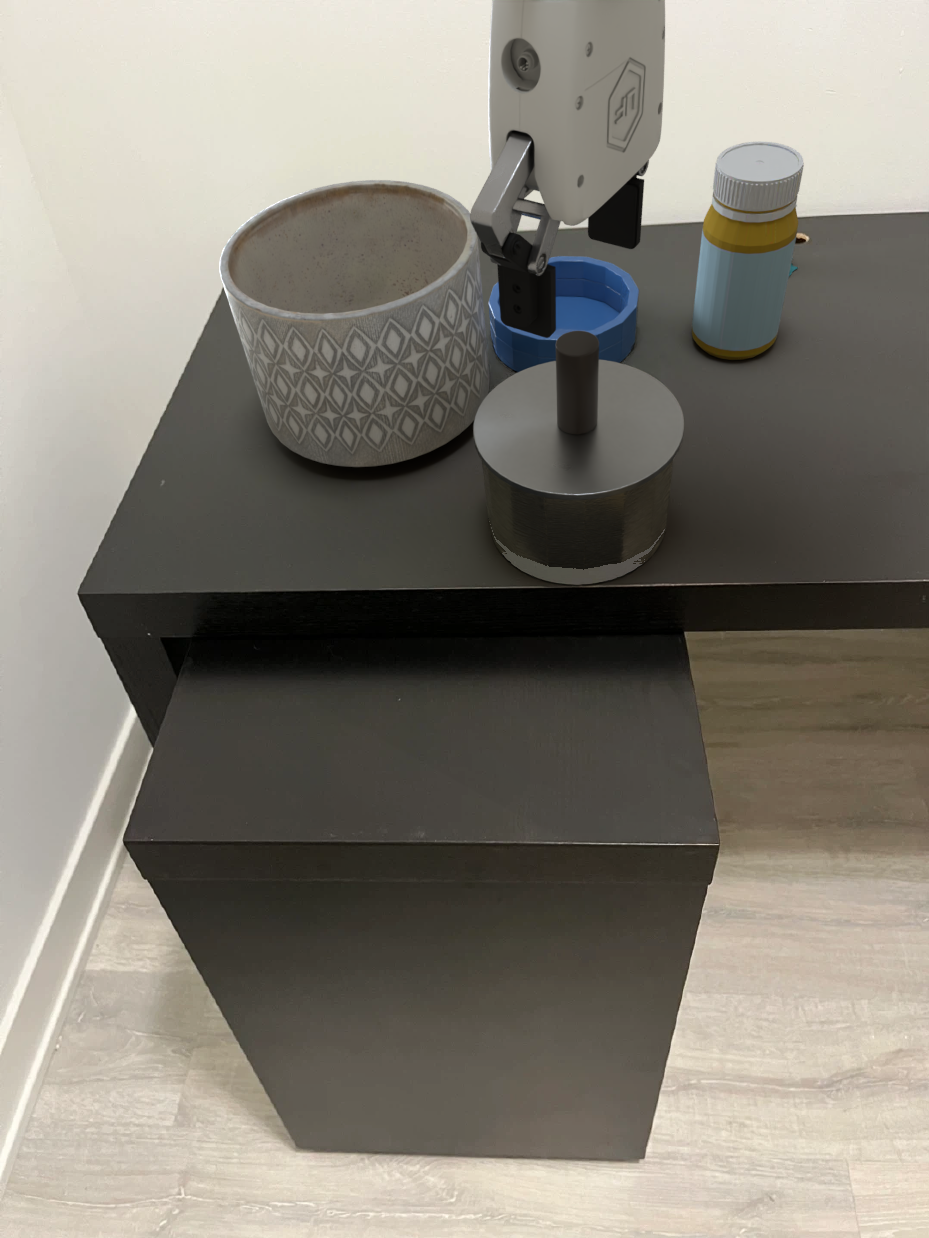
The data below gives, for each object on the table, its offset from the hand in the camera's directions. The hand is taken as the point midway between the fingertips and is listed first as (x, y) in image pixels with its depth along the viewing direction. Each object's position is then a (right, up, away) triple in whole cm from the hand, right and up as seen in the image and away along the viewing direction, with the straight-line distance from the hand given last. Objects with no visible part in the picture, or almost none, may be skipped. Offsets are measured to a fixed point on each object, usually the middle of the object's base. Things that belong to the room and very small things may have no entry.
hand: (572, 283), depth 54 cm
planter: (-13, -1, +25) cm, 28 cm away
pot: (+2, -12, +15) cm, 19 cm away
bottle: (+17, +5, +26) cm, 32 cm away
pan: (+2, +6, +29) cm, 29 cm away
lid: (+1, -7, +8) cm, 10 cm away
